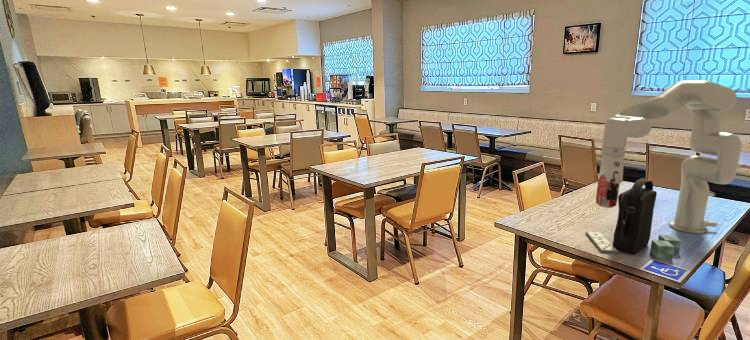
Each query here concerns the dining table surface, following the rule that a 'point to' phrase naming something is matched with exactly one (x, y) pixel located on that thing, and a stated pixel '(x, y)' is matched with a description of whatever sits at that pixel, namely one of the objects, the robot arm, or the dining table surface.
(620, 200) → the shoulder bag
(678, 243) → the pale green cube
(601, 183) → the soda can
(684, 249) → the dining table surface
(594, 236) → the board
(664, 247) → the sage green cube
